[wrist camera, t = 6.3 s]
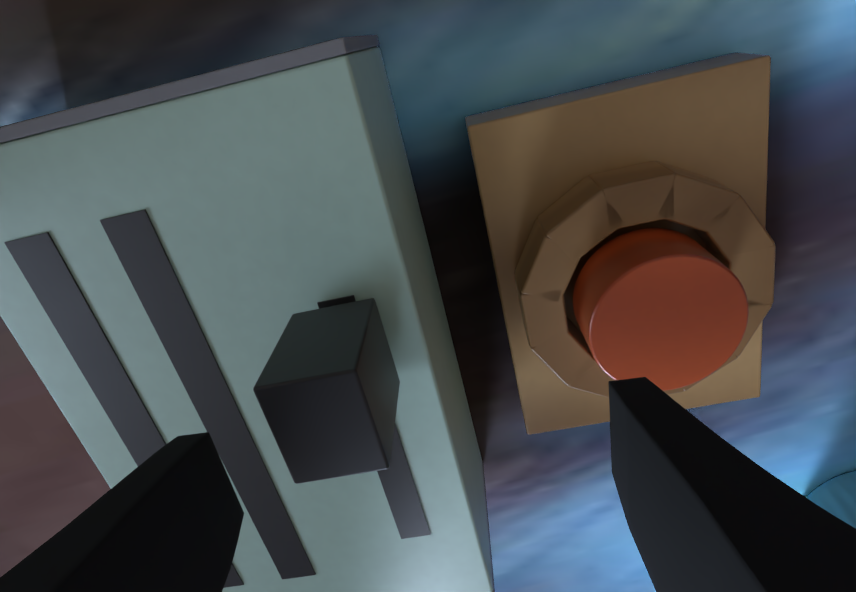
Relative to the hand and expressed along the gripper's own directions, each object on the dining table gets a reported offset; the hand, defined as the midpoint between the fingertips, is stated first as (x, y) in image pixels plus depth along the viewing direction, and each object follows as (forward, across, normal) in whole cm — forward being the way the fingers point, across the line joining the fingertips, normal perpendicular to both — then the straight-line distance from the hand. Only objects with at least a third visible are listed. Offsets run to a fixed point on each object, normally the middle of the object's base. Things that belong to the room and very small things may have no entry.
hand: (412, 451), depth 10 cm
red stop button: (+7, -6, +1) cm, 9 cm away
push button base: (+10, -6, +1) cm, 12 cm away
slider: (+4, +2, 0) cm, 4 cm away
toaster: (+10, +5, +2) cm, 11 cm away
